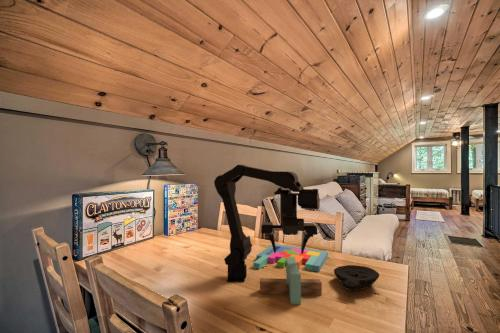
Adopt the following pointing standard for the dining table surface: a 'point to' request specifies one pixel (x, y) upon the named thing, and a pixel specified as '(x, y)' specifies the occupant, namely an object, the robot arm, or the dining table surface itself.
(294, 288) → the teal plate
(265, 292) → the walnut rail
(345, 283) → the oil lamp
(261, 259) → the tetris game
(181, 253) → the dining table surface
